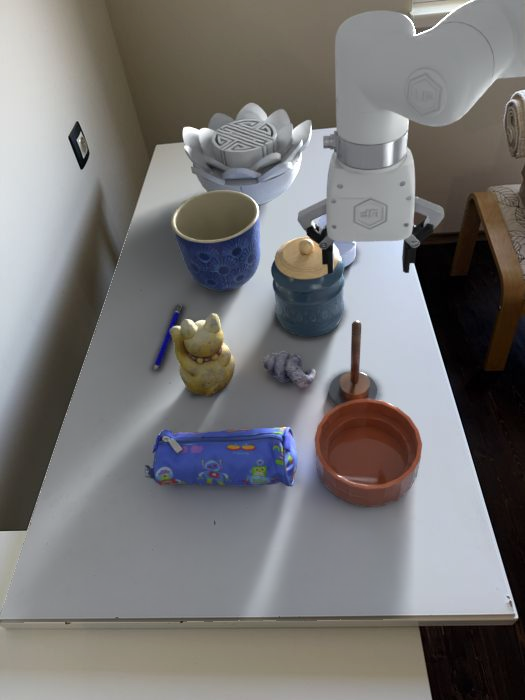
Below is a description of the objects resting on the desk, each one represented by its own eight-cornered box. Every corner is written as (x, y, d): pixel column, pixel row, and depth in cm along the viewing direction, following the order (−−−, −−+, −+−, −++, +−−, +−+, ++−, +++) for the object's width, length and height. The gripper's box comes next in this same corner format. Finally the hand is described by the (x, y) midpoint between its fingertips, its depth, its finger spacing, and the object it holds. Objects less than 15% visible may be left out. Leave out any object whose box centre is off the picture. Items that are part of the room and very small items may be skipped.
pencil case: (153, 496, 85) (137, 465, 78) (163, 447, 91) (148, 414, 84) (298, 497, 83) (294, 465, 76) (298, 447, 89) (295, 412, 81)
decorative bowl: (164, 203, 138) (148, 147, 127) (244, 150, 152) (236, 95, 141) (254, 246, 124) (246, 187, 112) (334, 182, 137) (334, 124, 126)
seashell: (316, 387, 98) (265, 372, 101) (322, 358, 96) (270, 343, 100) (305, 394, 93) (252, 377, 97) (311, 363, 92) (257, 348, 95)
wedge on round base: (320, 229, 125) (308, 267, 117) (319, 203, 120) (307, 241, 112) (360, 232, 123) (351, 270, 115) (361, 206, 118) (352, 244, 110)
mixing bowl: (438, 466, 84) (444, 444, 79) (366, 529, 79) (367, 510, 74) (365, 405, 93) (367, 382, 88) (296, 458, 87) (293, 437, 83)
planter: (283, 270, 117) (277, 209, 106) (223, 315, 110) (210, 254, 99) (228, 240, 126) (218, 180, 115) (170, 279, 119) (153, 219, 108)
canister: (286, 345, 103) (278, 273, 90) (269, 300, 112) (260, 227, 99) (353, 329, 104) (355, 254, 91) (331, 285, 113) (330, 211, 100)
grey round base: (387, 392, 94) (387, 390, 93) (352, 419, 91) (352, 417, 91) (353, 366, 98) (353, 363, 98) (319, 390, 96) (319, 388, 95)
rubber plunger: (375, 390, 94) (381, 322, 81) (353, 407, 92) (356, 339, 80) (354, 373, 96) (356, 305, 84) (333, 389, 95) (332, 321, 82)
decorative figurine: (231, 359, 102) (218, 299, 91) (244, 392, 97) (232, 333, 86) (180, 375, 101) (160, 317, 90) (191, 410, 96) (172, 352, 84)
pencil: (178, 307, 113) (177, 304, 112) (182, 307, 113) (181, 304, 112) (153, 372, 102) (151, 368, 101) (157, 372, 102) (156, 369, 101)
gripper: (289, 165, 60) (299, 286, 72) (458, 158, 57) (438, 285, 69) (295, 131, 64) (303, 249, 77) (450, 123, 62) (433, 247, 74)
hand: (367, 266), depth 73 cm, fingers open, 9 cm apart
